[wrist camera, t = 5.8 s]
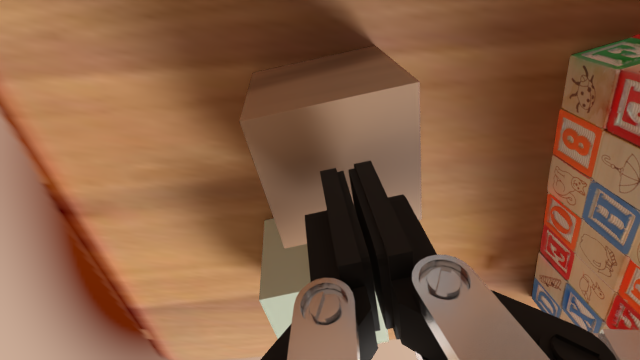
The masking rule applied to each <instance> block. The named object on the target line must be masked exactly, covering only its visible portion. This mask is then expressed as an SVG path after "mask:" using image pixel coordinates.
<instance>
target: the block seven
mask: <svg viewBox="0 0 640 360" xmlns="http://www.w3.org/2000/svg"><path fill="white" fill-rule="evenodd" d="M310 282H311V281H310V270H309V260H308V249H307V244H304V245H299V246H294V247H290V248H284V246H283V243H282V240H281V237H280V234H279V232H278V229H277V226H276V223H275V220H274V218H273V219H269V220H264V235H263V250H262V265H261V280H260V295H259V301H260V303H261V305H262V307H263V309H264V311H265V313H266V315H267V317H268V320H269V322H270V324H271V326H272V328H273V330H274V332H275V334H276V336H277V338H278V339H279V337H280V336H281V335H282V334H283V333H284V332H285V330H286V329H287V328H288V327H289V326H290V325H291V323H292V316H293V308H294V303H295V300H296V297H297V295H298V294H299V292H300V291H301V289H302V288H304V287H305V286H306V285H307V284H308V283H310ZM375 295H376V293H375ZM376 302H377V309H378V316H379V323H380V331H375V333H376V339H377V344H379V343H383V342H389V336H388V329H386V327H385V324H384V320H383V317H382V313H381V310H380V306H379V303H378V300H377V296H376Z"/></svg>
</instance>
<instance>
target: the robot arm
mask: <svg viewBox="0 0 640 360" xmlns="http://www.w3.org/2000/svg"><path fill="white" fill-rule="evenodd" d="M348 172H349V178H350V184H351V190H352V196H353V201H352V197H351V194H350V191H349V187H348V184H347V181H346V178H345V174H344V171H340V172H337V170H336V168H332V169H328V170H323V171H320V175H321V181H322V186H323V191H324V197H325V202H326V207H327V210H326V211H321V212H317V213H312V214H307V215H305V227H306V238H307V249H308V260H309V270H310V281H311V282H310V283H308V284H307V285H306V286H305V287H304V288H302V289H301V291H300V292H299V294H298V295H297V297H296V300H295V303H294V308H293V316H292V323H291V325H290V326H289V327H288V328H287V329H286V330H285V332H284V333H283V334H282V335H281V336H280V337H279V339H278V340H277V341H276V342H275V343H274V344H273V346H272V347H271V348H270V349H269V350H268V352H267V353H266V354H265V355H264V356H263V357H262V359H261V360H371V359H372V357H373V355H374V354H375V353H376V351H377V349H378V346H377V339H376V333H375V331H380V323H379V316H378V309H377V302H376V296H377V300H378V303H379V306H380V310H381V313H382V317H383V320H384V324H385V327H386V329H390V328H393V329H394V333H395V336H396V339H401V343H402V344H403V345H405V346H407V347H408V348H410V349H411V350H413V351H415V354H416V356H417V359H418V360H640V330H622V329H601V331H600V333H591V332H589V331H587V330H585V329H583V328H581V327H579V326H577V325H574V324H572V323H570V322H567V321H565V320H562V319H560V318H558V317H555V316H553V315H550V314H548V313H545V312H543V311H541V310H538V309H536V308H533V307H531V306H528V305H526V304H524V303H521V302H519V301H516V300H514V299H511V298H509V297H507V296H504V295H502V294H499V293H497V292H495V291H492V290H490V289H489V288H488V287H487V285H486V284H485V283H484V282H483V281H482V280H481V278H480V277H479V276H478V275H477V274H476V273H475V271H474V270H473V269H472V268H471V267H470V266H469V265H467V264H466V263H465V262H463V261H462V260H460V259H458V258H456V257H452V256H448V255H437V254H436V252H435V250H434V248H433V246H432V244H431V243H430V241H429V239H428V237H427V235H426V233H425V231H424V230H423V228H422V226H421V224H420V222H419V220H418V219H417V217H416V215H415V213H414V211H413V209H412V207H411V206H410V204H409V202H408V200H407V198H406V197H405V195H403V194H402V195H397V196H392V197H387V194H386V192H385V190H384V188H383V186H382V184H381V181H380V179H379V177H378V175H377V173H376V171H375V168H374V166H373V164H372V162H371V161H365V162H361V163H356V164H354V169H349V170H348ZM353 203H354V204H353ZM375 293H376V295H375Z"/></svg>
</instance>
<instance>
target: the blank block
mask: <svg viewBox="0 0 640 360" xmlns="http://www.w3.org/2000/svg"><path fill="white" fill-rule="evenodd" d="M239 122H240V125H241V128H242V130H243V133H244V136H245V139H246V142H247V145H248V147H249V150H250V153H251V156H252V159H253V161H254V164H255V167H256V170H257V173H258V175H259V178H260V181H261V184H262V187H263V189H264V192H265V195H266V198H267V201H268V203H269V206H270V209H271V212H272V215H273V218H274V220H275V223H276V226H277V229H278V232H279V234H280V237H281V240H282V243H283V246H284V248H290V247H294V246H299V245H304V244H307V238H306V227H305V215H307V214H312V213H317V212H321V211H326V210H327V207H326V202H325V197H324V191H323V186H322V181H321V175H320V171H323V170H328V169H332V168H336V170H337V172H340V171H344V174H345V178H346V181H347V184H348V187H349V191H350V194H351V197H352V201H353V196H352V190H351V184H350V178H349V172H348V170H349V169H354V164H356V163H361V162H365V161H371V162H372V164H373V166H374V168H375V171H376V173H377V175H378V177H379V179H380V181H381V184H382V186H383V188H384V190H385V192H386V194H387V197H392V196H397V195H402V194H403V195H405V197H406V198H407V200H408V202H409V204H410V206H411V207H412V209H413V211H414V213H415V215H416V217H417V219H418V220H422V212H421V141H420V82H419V81H418V80H417V79H416V78H414V77H413V76H412V75H411V74H409V73H408V72H407V71H406V70H405V69H403V68H402V67H401V66H400V65H398V64H397V63H396V62H395V61H393V60H392V59H391V58H390V57H389V56H387V55H386V54H385V53H384V52H382V51H381V50H380V49H379V48H378V47H376V46H371V47H366V48H362V49H357V50H353V51H348V52H344V53H339V54H335V55H330V56H326V57H321V58H317V59H312V60H308V61H304V62H299V63H295V64H290V65H286V66H281V67H277V68H272V69H268V70H263V71H259V72H254V73H252V77H251V80H250V84H249V88H248V91H247V95H246V99H245V102H244V106H243V110H242V113H241V117H240V121H239ZM353 204H354V203H353Z"/></svg>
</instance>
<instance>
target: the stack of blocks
mask: <svg viewBox="0 0 640 360" xmlns="http://www.w3.org/2000/svg"><path fill="white" fill-rule="evenodd" d="M547 191H548V196H547V205H546V210H545V217H544V228H543V233H542V241H541V246H540V250H541V251H540V252H539V253H538V259H537V266H536V272H535V278H534V284H533V292H532V299H533V300H534V302H535V303H536V304H537V306H538V307H539V308H540V309H541V311H543V312H545V313H548V314H550V315H553V316H555V317H558V318H560V319H562V320H565V321H567V322H570V323H572V324H574V325H577V326H579V327H581V328H583V329H585V330H587V331H589V332H591V333H600V331H601V329H622V330H640V34H638V35H634V36H632V37H631V38H628V39H625V40H621V41H618V42H614V43H611V44H607V45H604V46H601V47H597V48H594V49H590V50H587V51H584V52H580V53H577V54H573V55H571V56H570V60H569V66H568V72H567V78H566V84H565V90H564V96H563V102H562V108H561V109H560V112H559V117H558V124H557V130H556V136H555V142H554V148H553V156H552V161H551V166H550V173H549V179H548V185H547Z"/></svg>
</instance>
